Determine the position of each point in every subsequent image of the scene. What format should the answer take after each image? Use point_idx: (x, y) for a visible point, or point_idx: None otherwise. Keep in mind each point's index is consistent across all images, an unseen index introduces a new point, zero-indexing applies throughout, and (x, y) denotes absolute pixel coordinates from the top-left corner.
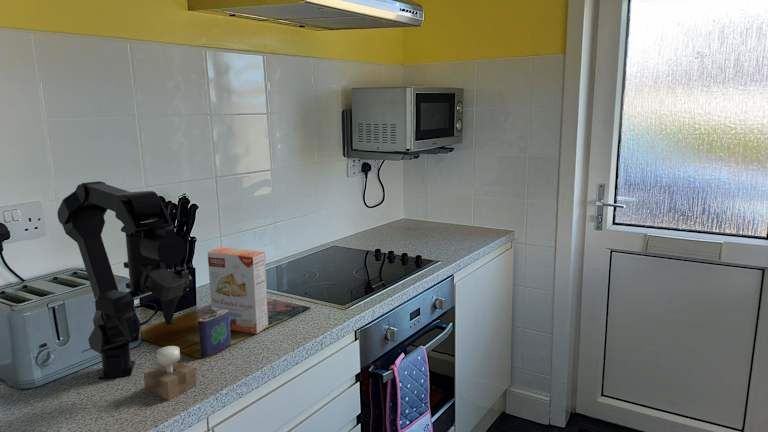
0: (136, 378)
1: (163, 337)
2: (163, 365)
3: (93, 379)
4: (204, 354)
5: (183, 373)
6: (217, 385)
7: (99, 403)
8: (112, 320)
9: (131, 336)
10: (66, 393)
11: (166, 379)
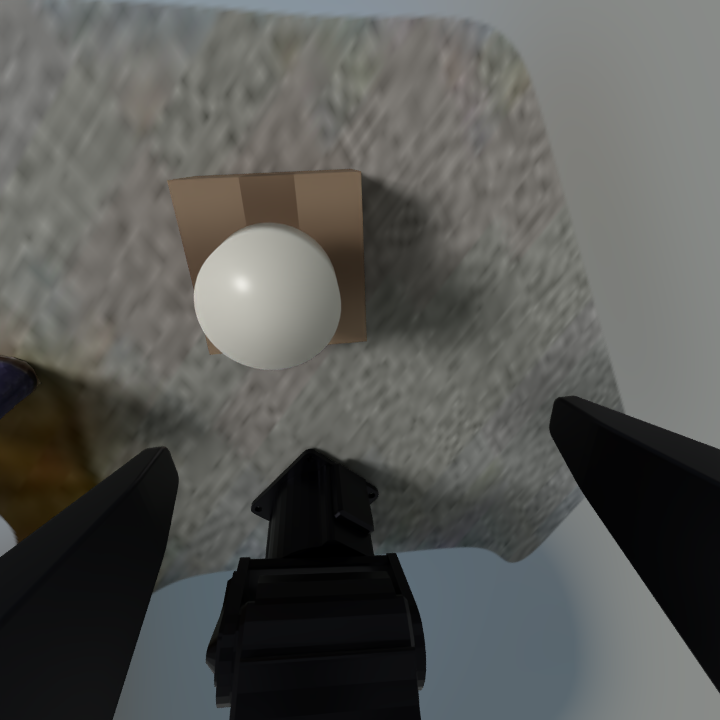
0: (309, 418)
1: None
2: None
3: (383, 499)
4: (18, 373)
5: (253, 176)
6: (119, 71)
7: (474, 367)
8: (384, 696)
9: (605, 411)
10: (469, 481)
11: (348, 199)
